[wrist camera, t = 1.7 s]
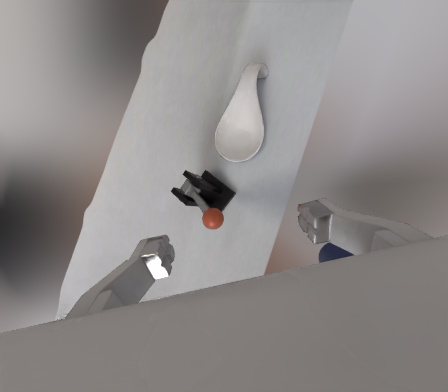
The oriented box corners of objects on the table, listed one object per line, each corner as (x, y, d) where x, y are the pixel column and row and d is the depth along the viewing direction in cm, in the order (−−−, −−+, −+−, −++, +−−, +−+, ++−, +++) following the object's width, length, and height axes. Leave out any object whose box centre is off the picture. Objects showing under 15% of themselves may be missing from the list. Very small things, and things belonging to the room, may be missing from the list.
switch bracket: (235, 193, 40) (218, 186, 28) (216, 218, 41) (191, 222, 29) (207, 171, 43) (180, 155, 31) (190, 195, 44) (157, 189, 32)
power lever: (231, 219, 24) (217, 212, 22) (218, 235, 24) (203, 231, 22) (198, 182, 33) (186, 175, 31) (190, 195, 34) (177, 189, 32)
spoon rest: (258, 169, 39) (254, 160, 32) (214, 161, 43) (202, 152, 36) (282, 74, 39) (283, 45, 32) (236, 75, 43) (228, 49, 36)
